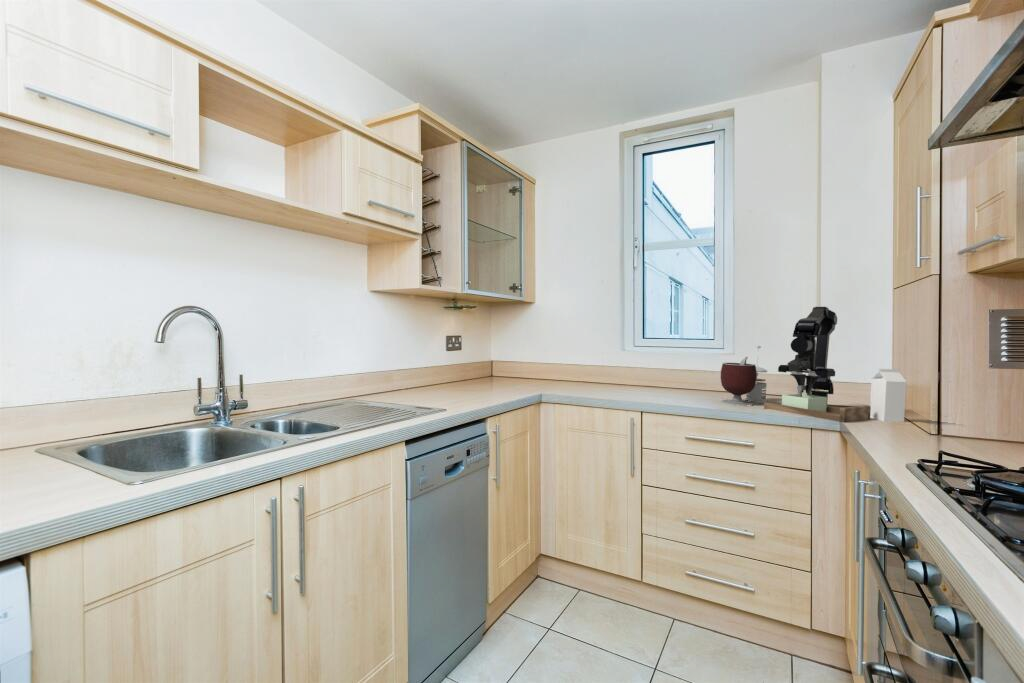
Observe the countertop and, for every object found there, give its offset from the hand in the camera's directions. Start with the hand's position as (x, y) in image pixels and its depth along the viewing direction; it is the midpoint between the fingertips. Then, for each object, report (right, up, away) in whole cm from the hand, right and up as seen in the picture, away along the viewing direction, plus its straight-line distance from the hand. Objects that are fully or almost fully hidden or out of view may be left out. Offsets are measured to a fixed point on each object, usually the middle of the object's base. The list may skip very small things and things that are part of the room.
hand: (804, 392), depth 183 cm
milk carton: (+22, -9, -12) cm, 27 cm away
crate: (0, -7, 0) cm, 7 cm away
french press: (-3, -7, +31) cm, 32 cm away
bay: (+2, -8, -3) cm, 9 cm away
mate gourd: (-16, -7, +21) cm, 27 cm away
